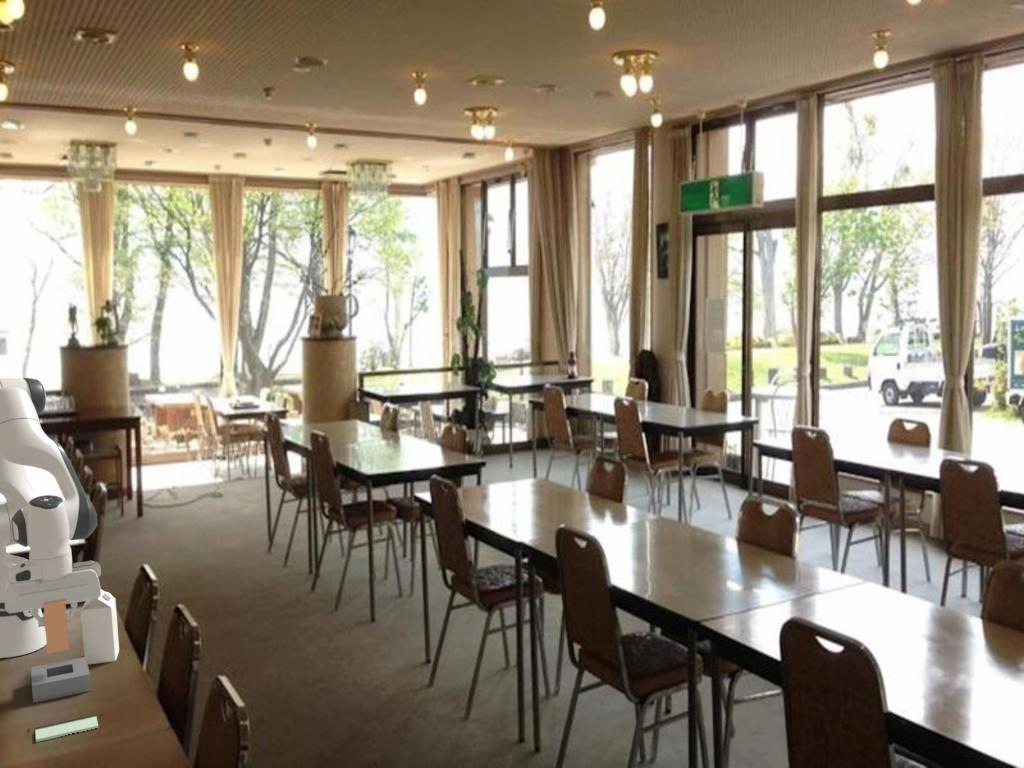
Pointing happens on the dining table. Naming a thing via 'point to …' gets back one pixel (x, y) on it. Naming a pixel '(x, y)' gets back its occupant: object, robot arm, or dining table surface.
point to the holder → (60, 679)
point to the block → (56, 626)
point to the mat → (66, 728)
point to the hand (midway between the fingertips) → (55, 623)
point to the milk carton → (100, 629)
